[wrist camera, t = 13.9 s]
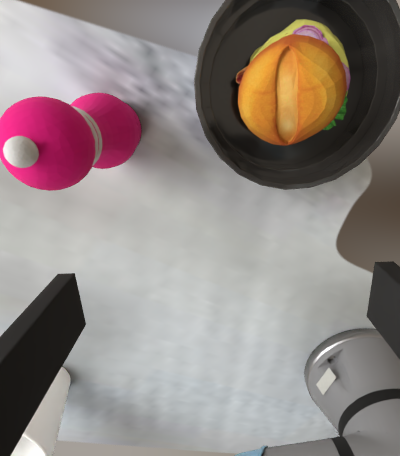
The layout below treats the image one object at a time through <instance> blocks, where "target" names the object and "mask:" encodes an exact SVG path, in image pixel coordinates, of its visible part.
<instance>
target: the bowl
mask: <svg viewBox="0 0 400 456" xmlns="http://www.w3.org/2000/svg"><path fill="white" fill-rule="evenodd" d="M301 19H307V20H312V21H316V22H319V23H322V24H323V25H325V26H326V27H328V28H329V29H330V31H331V32H332V34H333V35H335V36H336V37H337V38H338V39H339V40H340V42H341V43H342V44H343V48H344V50H345V55H346V58H347V60H348V65H349V72H350V84H349V89H348V93H347V96H346V97H347V99H348V100H347V102H346V114H345V115H344V117H343V120H338V119H334V120H335V123H336V126H333V127H332V128H331V129H329V130H321V131H320V132H318V133H316V134H315V135H313V136H311V137H309V138H307V139H305V140H303V141H300V142H298V143H295V144H292V145H285V146H282V145H275V144H271V143H268V142H266V141H264V140H262V139H260V138H259V137H258V136H256V135H255V134H253V133H252V132H251V131H250V130H249V129H248V127H247V126H246V124H245V123H244V121H243V119H242V118H241V114H240V111H239V107H238V92H239V86H240V84H238V83H237V82H236V77H237V74H238V72H239V71H241V70H242V69H244V68H245V67H247V66H248V65H249V64H250V57H251V56H252V54H253V53H254V52H255V50H256V49H258V48H259V47H261V46H263V45H264V44H265V43H266V42H267V40H268V39H269V38H271V37H272V36H274V35H276V34H278V33H280V32H282V31H283V30H284V29H286V28H287V27H288V26H289V25H291V24H292V23H293V22H294V21H296V20H301ZM194 86H195V99H196V110H197V113H198V116H199V119H200V122H201V125H202V128H203V131H204V134H205V136H206V138H207V139H208V141H209V142H210V144H211V146H212V147H213V149H214V150H215V152H216V153H217V155H218V156H219V158H220V159H221V160H223V161H224V162H225V163H226V164H227V165H228V166H229V167H231V168H232V169H233V170H234V171H235V172H236V173H237V174H239V175H241V176H243V177H245V178H247V179H249V180H251V181H253V182H255V183H257V184H259V185H262V186H268V187H273V188H279V189H284V190H287V189H300V188H311V187H314V186H317V185H320V184H323V183H326V182H329V181H332V180H335V179H337V178H338V177H340V176H342V175H343V174H345V173H347V172H348V171H350V170H352V169H353V168H355V167H356V166H358V165H359V164H360V163H361V162H362V161H363V160H365V159H366V158H367V157H368V156H369V155H370V154H371V153H372V152H373V151H374V150H375V149H376V148H377V147H378V146H379V145H380V143H381V142H382V140H383V139H384V137H385V136H386V134H387V133H388V131H389V130H390V128H391V127H392V125H393V124H394V122H395V120H396V119H397V116H398V114H399V111H400V9H399V6H398V3H397V1H396V0H225V1H224V3H223V4H222V6H221V7H220V8H219V10H218V11H217V12H216V14H215V15H214V17H213V18H212V20H211V22H210V24H209V26H208V29H207V31H206V34H205V36H204V39H203V41H202V43H201V46H200V48H199V52H198V58H197V65H196V71H195V78H194Z"/></svg>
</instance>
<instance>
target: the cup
mask: <svg viewBox="0 0 400 456" xmlns="http://www.w3.org/2000/svg"><path fill="white" fill-rule="evenodd" d="M70 383H71V379H70V375H69V373H68V372H67V370H66V369H65V368H63V367H61V369H60V370H59V372H58V374H57V376H56V377H55V379H54V381H53V383H52V384H51V386H50V388H49V390H48V391H47V393H46V395H45V397H44V398H43V400H42V402H41V404H40V405H39V407H38V409H37V411H36V412H35V414H34V416H33V417H32V419H31V421H30V423H29V424H28V426H27V428H26V430H25V431H24V433H23V435H22V437H21V438H20V440H19V442H18V444H17V445H16V447H15V449H14V451H13V452H12V454H11V456H53V453H54V449H55V445H56V441H57V437H58V433H59V428H60V424H61V420H62V416H63V412H64V408H65V404H66V399H67V395H68V391H69V387H70Z"/></svg>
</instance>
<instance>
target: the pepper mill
mask: <svg viewBox="0 0 400 456" xmlns="http://www.w3.org/2000/svg"><path fill="white" fill-rule="evenodd" d="M140 138H141V124H140V120H139V118H138V116H137V114H136V113H135V111H134V110H133V109H132V108H131V107H130V106H129V105H128V104H126V103H124V102H122V101H121V100H120V99H118V98H116V97H114V96H112V95H109V94H105V93H92V94H88V95H85V96H82V97H80V98H78V99H76V100H75V101H74V102H73V103H72V104H71V105H69V104H67V103H65V102H63V101H60V100H57V99H53V98H49V97H32V98H27V99H24V100H21V101H19V102H17V103H15V104H13V105H12V106H11V107H10V108H8V109H7V110H6V111H5V113H4V114H3V115H2V117H1V118H0V158H1V160H2V162H3V164H4V165H5V167H6V168H7V169H8V171H9V172H10V173H11V174H12V175H13V176H14V177H15V178H17V179H18V180H20V181H21V182H23V183H25V184H26V185H28V186H30V187H34V188H37V189H41V190H49V191H50V190H61V189H64V188H68V187H71V186H73V185H75V184H76V183H78V182H79V181H81V180H82V179H83V178H84V177H85V176H86V175H87V174H88V172H89V171H90V169H91V168H92V167H94V168H101V169H106V168H111V167H115V166H118V165H120V164H122V163H124V162H125V161H127V160H128V159H129V158H130V157H131V156H132V154H133V153H134V151H135V149H136V147H137V145H138V143H139V141H140Z"/></svg>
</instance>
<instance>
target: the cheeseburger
mask: <svg viewBox="0 0 400 456" xmlns="http://www.w3.org/2000/svg"><path fill="white" fill-rule="evenodd" d="M236 82H237V83H238V84H240V86H239V92H238V107H239V111H240V114H241V118H242V119H243V121H244V123H245V124H246V126H247V127H248V129H249V130H250V131H251V132H252V133H253V134H255V135H256V136H258V137H259V138H260V139H262V140H264V141H266V142H268V143H271V144H275V145H282V146H285V145H292V144H295V143H298V142H300V141H303V140H305V139H307V138H309V137H311V136H313V135H315V134H316V133H318V132H320V131H321V130H329V129H331V128H332V127H333V126H336V123H335V120H334V119H338V120H343V117H344V115H345V114H346V102H347V100H348V99H347V97H346V96H347V93H348V89H349V84H350V72H349V65H348V60H347V58H346V55H345V50H344V48H343V44H342V43H341V42H340V40H339V39H338V38H337V37H336V36H335V35H333V34H332V32H331V31H330V29H329V28H328V27H326V26H325V25H323V24H322V23H319V22H316V21H312V20H307V19H301V20H296V21H294V22H293V23H292V24H291V25H289V26H288V27H287V28H286V29H284V30H283V31H282V32H280V33H278V34H276V35H274V36H272V37H271V38H269V39H268V40H267V42H266V43H265V44H264V45H263V46H261V47H259V48H258V49H256V50H255V52H254V53H253V54H252V56H251V57H250V64H249V65H248V66H247V67H245V68H244V69H242V70H241V71H239V72H238V74H237V77H236Z"/></svg>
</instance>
